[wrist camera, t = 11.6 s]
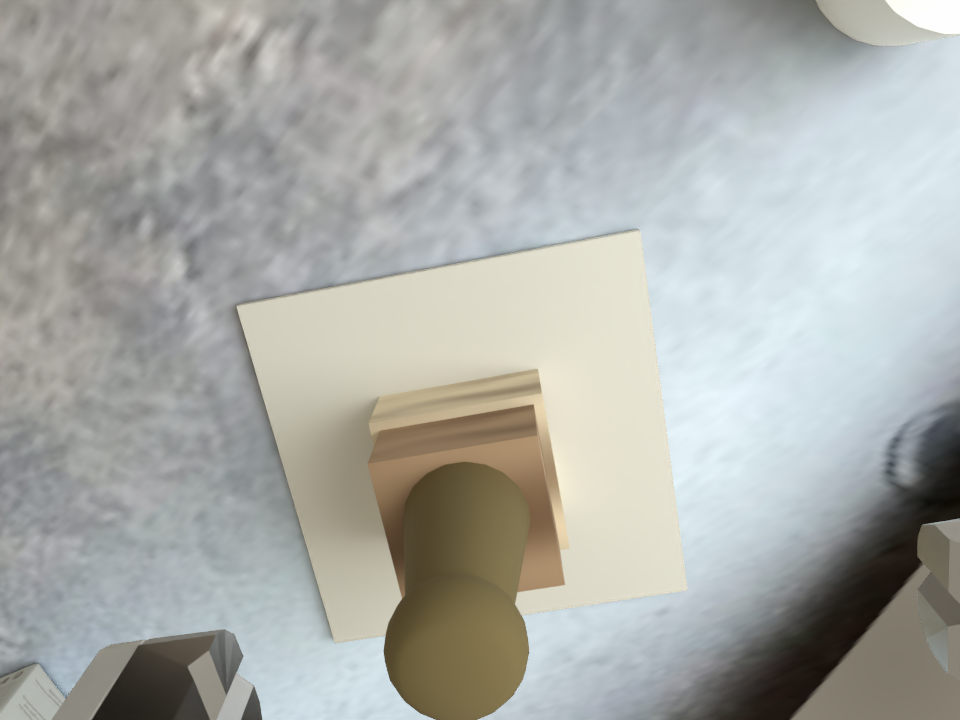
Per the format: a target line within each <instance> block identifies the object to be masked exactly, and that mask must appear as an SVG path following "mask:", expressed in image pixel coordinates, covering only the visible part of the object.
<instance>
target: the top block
mask: <svg viewBox="0 0 960 720" xmlns="http://www.w3.org/2000/svg"><path fill="white" fill-rule="evenodd" d="M459 462H472V463H479V464H486V465H488V466H490V467H492V468H495V469H497V470H499V471H501V472H503V473H505V474H506V475H507V476H508V477H509V478H510V479H511V480H512V481H514V482H515V483H516V484H517V485H518V486H519V488H520V490H521V491H522V493H523V495H524V497H525V498H526V500H527V502H528V508H529V514H530V519H531V520H530V525H529V531H528V537H527V542H526V548H525V553H524V559H523V564H522V569H521V575H520V580H519V586H518V591H517V592H523V591H529V590H536V589H542V588H549V587H555V586H562V585H565V581H564V574H563V567H562V560H561V553H560V546H559V539H558V534H557V528H556V523H555V518H554V512H553V507H552V501H551V496H550V490H549V485H548V479H547V474H546V469H545V463H544V458H543V452H542V447H541V441H540V436H539V430H538V425H537V420H536V414H535V409H534V404H533V405H527V406H521V407H515V408H509V409H504V410H498V411H492V412H486V413H480V414H474V415H469V416H463V417H457V418H451V419H445V420H439V421H434V422H428V423H422V424H416V425H410V426H405V427H399V428H393V429H387V430H381V431H380V432H379V435H378V437H377V440H376V443H375V445H374V448H373V450H372V453H371V456H370V458H369V461H368V468H369V472H370V476H371V480H372V484H373V488H374V492H375V495H376V499H377V503H378V507H379V511H380V515H381V519H382V523H383V527H384V530H385V534H386V538H387V542H388V546H389V550H390V554H391V558H392V562H393V565H394V569H395V573H396V577H397V581H398V585H399V589H400V593H401V597H402V598H403V597H404V596H405V578H404V533H403V518H404V510H405V502H406V500H407V498H408V496H409V494H410V493H411V491H412V489H413V487H414V486H415V485H416V484H417V483H418V482H419V481H420V480H421V479H422V478H423V477H424V476H425V475H426V474H427V473H429V472H431V471H433V470H435V469H437V468H439V467H441V466H443V465H446V464H453V463H459Z"/></svg>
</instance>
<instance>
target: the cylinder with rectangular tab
mask: <svg viewBox="0 0 960 720" xmlns="http://www.w3.org/2000/svg"><path fill="white" fill-rule="evenodd" d="M816 2H817V4H818V7H819V9H820V10H821V12H822V13H823V14H824V15H825V16H826V18H827V19H828V20H829V21H830V22H831V23H832V25H833V26H834V27H835V28H836V29H838V30H840V31H841V32H843V33H844V34H846V35H847V36H849V37H851V38H852V39H854V40H856V41H860V42H864V43H867V44H871V45H875V46H902V45H908V44H914V43H919V42H925V41H931V40H936V39H942V38H948V37H953V36H959V35H960V0H816Z"/></svg>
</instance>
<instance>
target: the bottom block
mask: <svg viewBox="0 0 960 720" xmlns="http://www.w3.org/2000/svg"><path fill="white" fill-rule="evenodd" d="M533 404H534V409H535V414H536V420H537V425H538V430H539V436H540V441H541V447H542V452H543V458H544V463H545V469H546V474H547V479H548V485H549V490H550V496H551V501H552V507H553V512H554V518H555V523H556V528H557V534H558V539H559V546H560V550H565V549H570V547H569V541H568V535H567V529H566V523H565V517H564V511H563V505H562V500H561V494H560V488H559V483H558V477H557V472H556V466H555V461H554V455H553V449H552V444H551V438H550V433H549V427H548V422H547V416H546V410H545V405H544V399H543V394H542V388H541V383H540V377H539V371H538V369H534V370H528V371H523V372H517V373H511V374H506V375H500V376H494V377H488V378H483V379H477V380H471V381H466V382H460V383H454V384H449V385H443V386H437V387H431V388H426V389H420V390H414V391H409V392H403V393H397V394H391V395H386V396H380V397H379V399H378V402H377V404H376V406H375V409H374V411H373V413H372V416H371V418H370V421H369V423H368V424H369V428H370V432H371V436H372V440H373V444H374V445H375V443H376V440H377V437H378V435H379V432H380V431H381V430H387V429H393V428H399V427H405V426H410V425H416V424H422V423H428V422H434V421H439V420H445V419H451V418H457V417H463V416H469V415H474V414H480V413H486V412H492V411H498V410H504V409H509V408H515V407H521V406H527V405H533Z"/></svg>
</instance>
